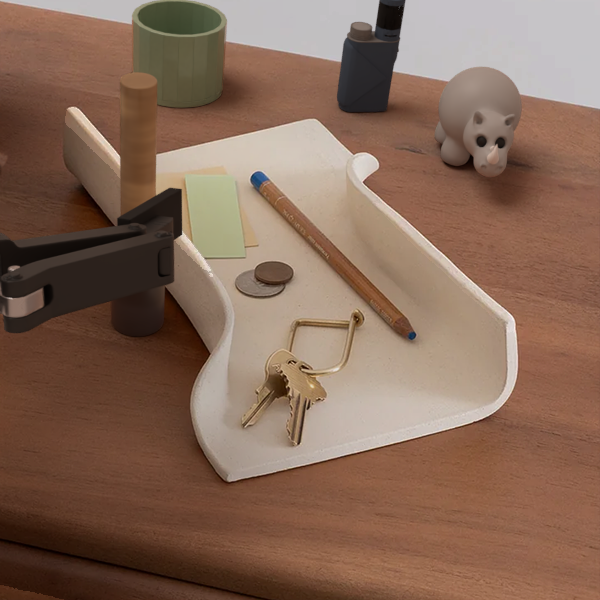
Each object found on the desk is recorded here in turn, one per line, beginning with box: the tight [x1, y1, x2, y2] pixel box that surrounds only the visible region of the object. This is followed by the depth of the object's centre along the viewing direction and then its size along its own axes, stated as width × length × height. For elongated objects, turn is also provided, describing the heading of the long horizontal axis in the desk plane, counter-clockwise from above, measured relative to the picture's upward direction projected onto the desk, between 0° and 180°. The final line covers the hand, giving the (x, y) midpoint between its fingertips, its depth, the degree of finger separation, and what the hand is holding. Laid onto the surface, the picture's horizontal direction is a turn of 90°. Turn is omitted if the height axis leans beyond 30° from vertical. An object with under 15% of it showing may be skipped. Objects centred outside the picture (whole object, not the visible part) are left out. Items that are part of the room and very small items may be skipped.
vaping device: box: [336, 0, 406, 113], centre depth 99 cm, size 3×5×12 cm, turn 102°
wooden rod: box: [110, 72, 166, 337], centre depth 68 cm, size 4×4×18 cm
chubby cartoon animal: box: [434, 66, 523, 178], centre depth 92 cm, size 7×12×8 cm, turn 179°
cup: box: [131, 0, 228, 109], centre depth 100 cm, size 9×9×7 cm
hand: (69, 197), depth 63 cm, fingers open, 13 cm apart
